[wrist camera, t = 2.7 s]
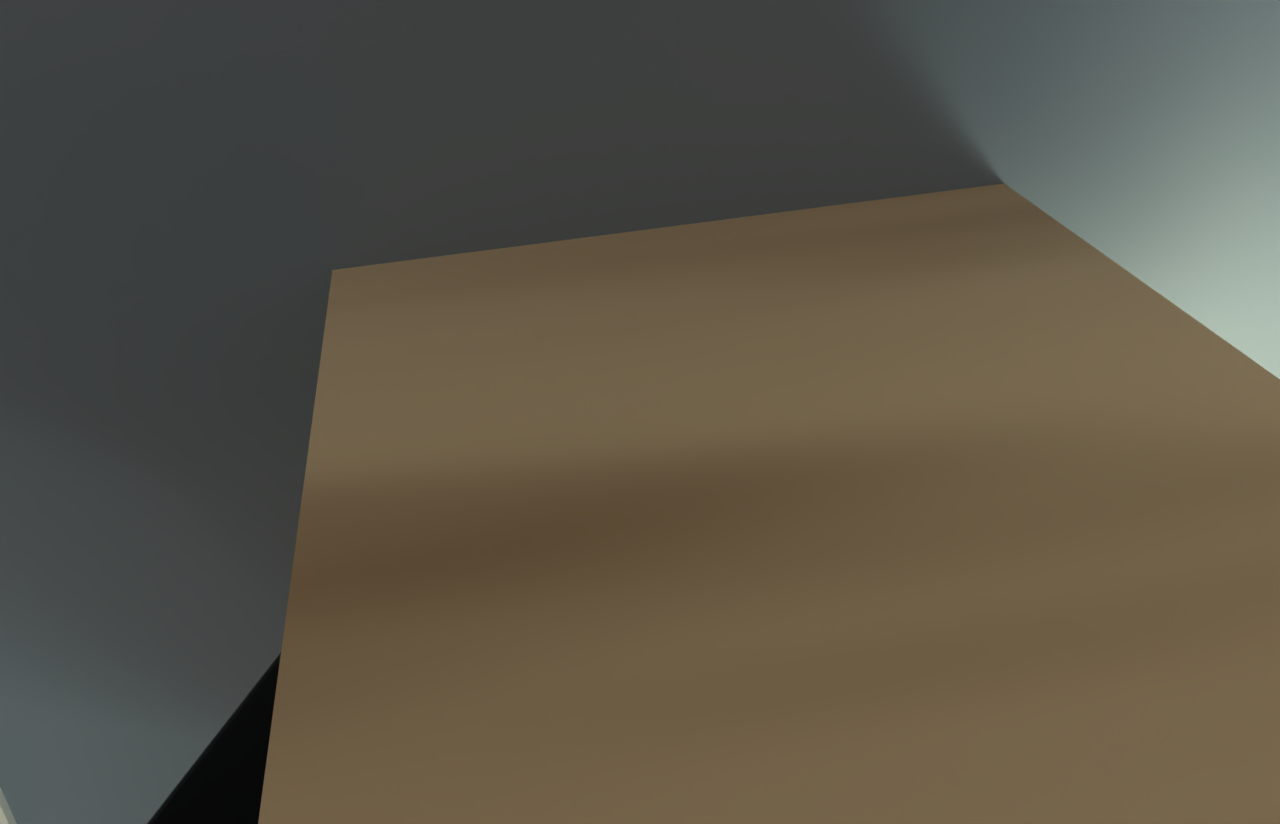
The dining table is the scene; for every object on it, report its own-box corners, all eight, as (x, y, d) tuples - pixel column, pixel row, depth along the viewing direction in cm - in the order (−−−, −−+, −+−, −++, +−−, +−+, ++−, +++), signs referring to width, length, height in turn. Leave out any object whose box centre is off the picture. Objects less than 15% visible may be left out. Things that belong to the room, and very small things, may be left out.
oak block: (963, 688, 10) (1527, 1621, 5) (439, 782, 10) (482, 1918, 5) (1004, 183, 8) (2040, 921, 3) (331, 270, 8) (184, 1342, 2)
